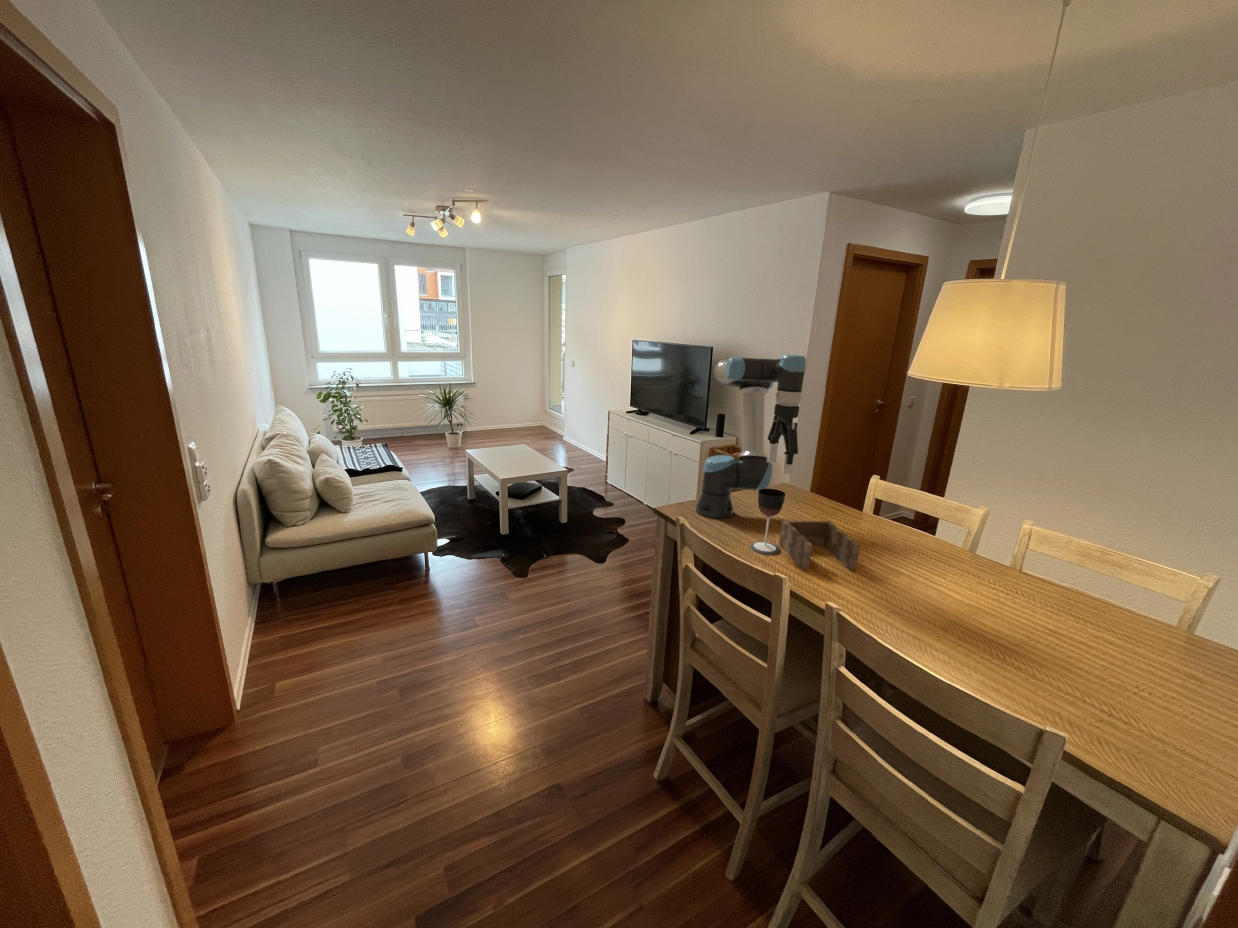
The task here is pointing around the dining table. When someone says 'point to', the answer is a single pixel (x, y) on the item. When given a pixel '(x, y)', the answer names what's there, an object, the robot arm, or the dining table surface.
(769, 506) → the wineglass
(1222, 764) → the dining table surface
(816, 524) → the walnut u-shaped bracket
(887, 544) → the dining table surface
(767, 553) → the felt coaster
